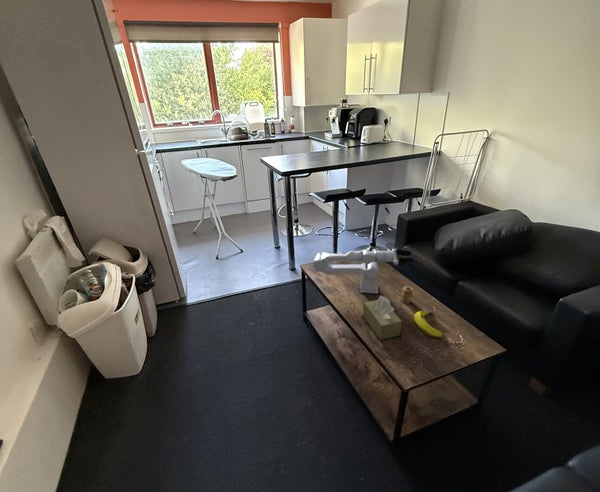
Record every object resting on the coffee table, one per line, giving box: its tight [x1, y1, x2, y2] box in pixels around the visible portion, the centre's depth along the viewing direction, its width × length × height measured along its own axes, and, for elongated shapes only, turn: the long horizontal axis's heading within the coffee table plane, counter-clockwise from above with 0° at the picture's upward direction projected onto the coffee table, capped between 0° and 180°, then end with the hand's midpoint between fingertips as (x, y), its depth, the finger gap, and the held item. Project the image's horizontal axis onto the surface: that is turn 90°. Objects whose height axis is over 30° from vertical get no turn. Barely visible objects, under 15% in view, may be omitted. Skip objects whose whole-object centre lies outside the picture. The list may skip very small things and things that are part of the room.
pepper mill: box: [401, 285, 414, 304], centre depth 162 cm, size 5×5×9 cm
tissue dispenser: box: [362, 295, 403, 340], centre depth 144 cm, size 19×10×16 cm, turn 15°
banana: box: [413, 310, 445, 339], centre depth 146 cm, size 5×17×15 cm
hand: (412, 256), depth 161 cm, fingers open, 7 cm apart
